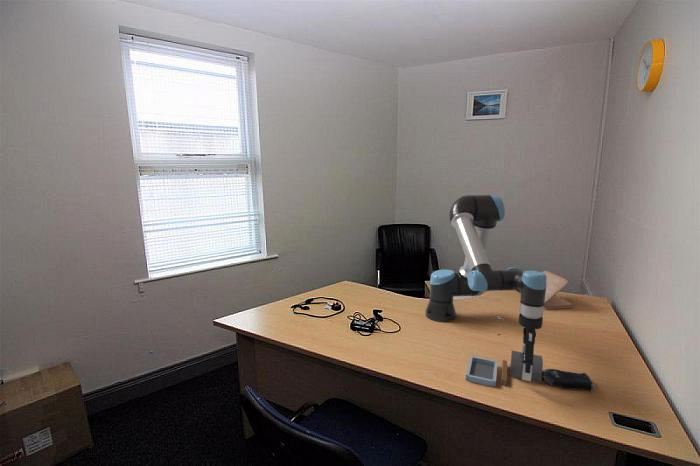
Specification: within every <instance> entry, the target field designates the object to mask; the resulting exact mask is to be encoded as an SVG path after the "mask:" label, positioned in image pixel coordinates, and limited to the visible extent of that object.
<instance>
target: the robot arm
mask: <svg viewBox="0 0 700 466" xmlns="http://www.w3.org/2000/svg"><path fill="white" fill-rule="evenodd" d="M505 210H506V209H505V204H504V201H503V200H502V198H501V197H500V196H498V195H494V194H493V195H492V194H488V195H487V194H483V195H482V194H481V195H480V194H479V195H478V194H475V195H474V194H473V195H471V194H469V195H468V194H467V195H466V194H465V195H462V196H460V197H459V198H457V199H456V200H455V201H454V202H453V203H452V205H451V207H450V210H449V221H450V224H451V227H453V228H454V229H455V230H456V234H457V237H458V240H459V242H460V244H461V247H462V250H463V253H464V256H465V257H464V262H463V265H462V266H460V268H459V270H458V272H455V270H452V269H437V270H435V271H433V272H432V273H431V274H430V280H429V301H428V303H427V306H426V308H425V317H427V318H428V319H429V320H432V321H436V322H442V323H443V322H444V323H445V322H447V323H448V322H451V321H454V320H456V318H457V312H456V309H455V308H456V307H455V305H454V297H477V296H481V295H482V294H483V293H485V292H491V291H493V292H494V291H516V292H518V293H519V294H520V300H519V311H518V312H519V315H518V324H519V326H521V327H523V328H522V329H523V330H522V333H523V336H522V343H523V344H522V350H521V352H522V353H525V359H524V361H522V363H524V364H523V375H522V379H521V380H523V381H526V382H531V375H532V366H533V355H535V354H534V353H535V351H534V350H535V349H534V348H535V344H536V337H537V332H536V331H537V330H541V329H542V328H543V320H544V317H543V316H544V311H547V309H546V308H545V307H544V302H545V293H546V287H547V284H546V275H545V274H544V273H542V272H543V271H538V270H530V269H529V270H524V271H523V270H522V269H520V268H518V267H515V266H514V267H513V266H511V267H507V268H506V269H501V270H496V269H494V270H493V268H492V266H491V264H490V260H489V259H488V256H487V254H486V252H487V248H488V246H489V245H488V244H489V241H490V237H491V233H492V232H491V231H492V230H493V229H495V228H496V226H497V223H498V222H502V221H503V220H504V219H505V213H506V211H505Z"/></svg>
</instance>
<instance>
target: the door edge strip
mask: <svg viewBox="0 0 700 466" xmlns="http://www.w3.org/2000/svg"><path fill="white" fill-rule="evenodd" d="M507 365H508V360H502V365H501V366H502V367H501V384H500V385H501V386H506V385H507V370H508V369H507V368H508V366H507Z"/></svg>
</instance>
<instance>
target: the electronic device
mask: <svg viewBox="0 0 700 466" xmlns="http://www.w3.org/2000/svg"><path fill="white" fill-rule="evenodd" d="M541 380H543V381H544V382H545V383H547V384H549V385H551V386H554V387H558V388H565V389H572V390H588V391H590V392H593V391H594V390H595V387H596V385H595V384H594V383H593V381H592V379H591V378H590V376H589V375H588V374H587V373H586V372H582V373H581V372H579V373H578V372H573V371H571V372H570V371H564V370H560V369H554V368H547V369H546V368H545V369H543V370H542V377H541Z"/></svg>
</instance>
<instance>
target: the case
mask: <svg viewBox="0 0 700 466" xmlns="http://www.w3.org/2000/svg"><path fill="white" fill-rule="evenodd" d="M541 272H542V273H544V274H545V275H546V284H547V287H546V293H545V302H544V307H545V308H546V310H558V309H559V310H560V309H574V308H575V304H573V303H572V302H569V301H567V300H566V299H563V298H562V297H559V296H557V295H556V294H558V293H559V292H560V291H561V290H562V289H564V288H565V287H566V286H567V285H568V284H569V280H568V279H566V278H564V277H562V276H560V275H558V274H556V273H553V272H552V271H549V270H544V271H541Z"/></svg>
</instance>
